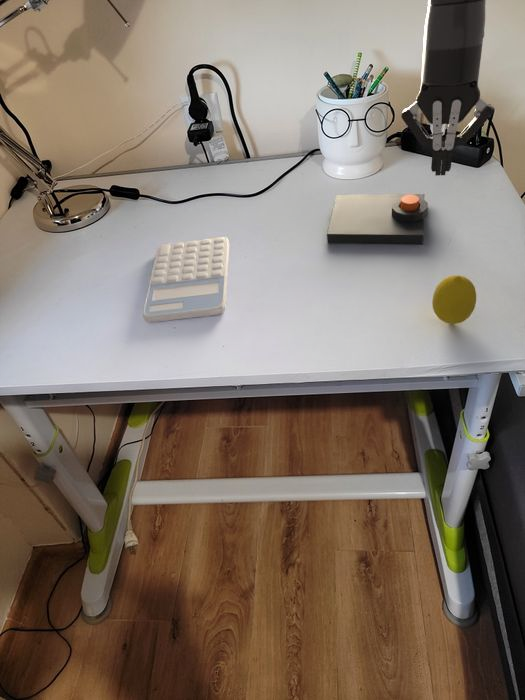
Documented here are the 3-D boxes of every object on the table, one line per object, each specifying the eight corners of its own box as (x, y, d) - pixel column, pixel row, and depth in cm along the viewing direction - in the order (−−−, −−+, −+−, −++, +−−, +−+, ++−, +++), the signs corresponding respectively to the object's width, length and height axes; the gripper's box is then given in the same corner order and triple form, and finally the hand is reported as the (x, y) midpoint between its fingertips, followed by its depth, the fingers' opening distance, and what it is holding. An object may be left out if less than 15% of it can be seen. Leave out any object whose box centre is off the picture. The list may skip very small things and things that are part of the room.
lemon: (428, 333, 71) (434, 289, 65) (431, 307, 74) (437, 262, 69) (470, 337, 69) (480, 292, 63) (471, 310, 73) (481, 265, 67)
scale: (426, 203, 93) (428, 185, 91) (425, 244, 85) (427, 226, 82) (336, 203, 97) (335, 187, 95) (327, 243, 89) (326, 226, 86)
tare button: (418, 202, 88) (419, 194, 87) (418, 211, 86) (419, 203, 85) (401, 202, 89) (401, 194, 88) (400, 211, 87) (400, 203, 86)
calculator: (230, 242, 93) (228, 233, 92) (225, 315, 79) (223, 306, 78) (159, 251, 94) (156, 242, 93) (143, 324, 80) (139, 315, 79)
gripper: (399, 50, 67) (393, 182, 77) (508, 41, 63) (487, 181, 73) (404, 44, 73) (398, 167, 83) (505, 35, 69) (486, 166, 79)
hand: (440, 173), depth 78 cm, fingers closed
